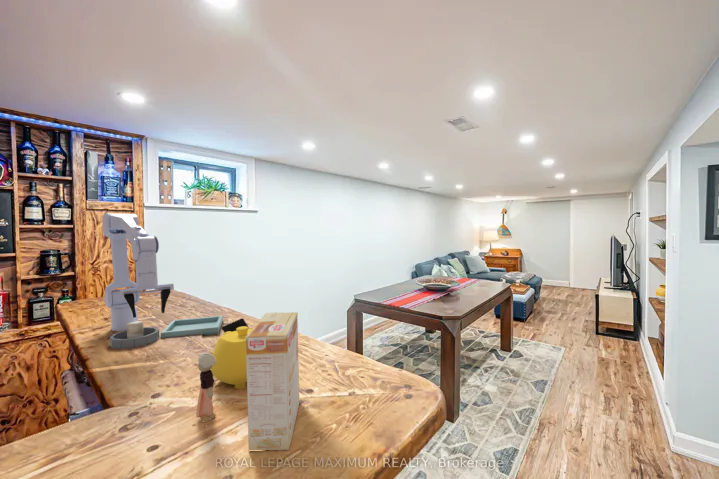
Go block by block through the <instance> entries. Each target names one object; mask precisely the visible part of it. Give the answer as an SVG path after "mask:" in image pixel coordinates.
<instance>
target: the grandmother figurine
mask: <svg viewBox="0 0 719 479" xmlns="http://www.w3.org/2000/svg"><path fill="white" fill-rule="evenodd" d="M212 354H213V353H210V352H202V353H200V354H199V356H198V365H197V367H198V368H197V369H198V371H200V374H199V379H200V388H199V393H198V400H197V405H196V415H195V417H197V418H200V419H201V421H207V420H209V421H211V420H213V419H212V418H214V417H215V416H216V417H217V414H216V413H215V412H214V405H213V397H214V386H215V385H214V384H215V381H214V380H215V379H214V375H213V373H212V371H211V368H212V366H213V365H215V364H216V363H217V361H216V358H215V357H214V356H213V355H212ZM216 417H215V418H216ZM215 418H214V419H215ZM210 419H211V420H210ZM201 421H200V422H201ZM207 422H208V421H207Z"/></svg>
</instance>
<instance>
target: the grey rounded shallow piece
mask: <svg viewBox="0 0 719 479" xmlns="http://www.w3.org/2000/svg"><path fill="white" fill-rule="evenodd" d="M143 334H144V336H142V337H137V338H130V339H127V330H121V331H117V332H115V333H113V334H112V335H111V336H109V346H110V348H112V349H118V350H121V349H122V350H126V349H134V348H138V347H143V346H145V345H150V344H151V343H154V342H157V341H158V339H160V329H159V328H158V327H155V326H152V327H151V326H143Z"/></svg>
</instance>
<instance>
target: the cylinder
mask: <svg viewBox="0 0 719 479" xmlns="http://www.w3.org/2000/svg"><path fill="white" fill-rule="evenodd" d="M143 327H144V321H141V320H140V321H139V320H138V321H137V322H131V323H128V324H127V339H130V338H137V337H142V336H144V334H143Z"/></svg>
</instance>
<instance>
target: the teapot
mask: <svg viewBox="0 0 719 479" xmlns="http://www.w3.org/2000/svg"><path fill="white" fill-rule="evenodd" d="M252 329H253V328H250V327H249V326H248V327H246V326H242V327H238V328H237V329H236V330H237V331H233V332H231V331H228V332H225V333H224V332H223V333H222V335H220V337H218V339H217V341H216V343H215V346H214V349H213V352H212V353H211V354H212V355H213V356H214V357H215V358H216V361H217V363H216V364H215V365H213V366H212V368H211V369H210V370H211V371H212V374H213V377H215V378H216V379H217V380H218V381H219V382H220V383H225V384H228V385H234V386H233V388H234V390H243V389H244V388H246V387H247V366H246V339H245V337H246V336H247V335H248V334H249V333H250V331H251V330H252Z"/></svg>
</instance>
